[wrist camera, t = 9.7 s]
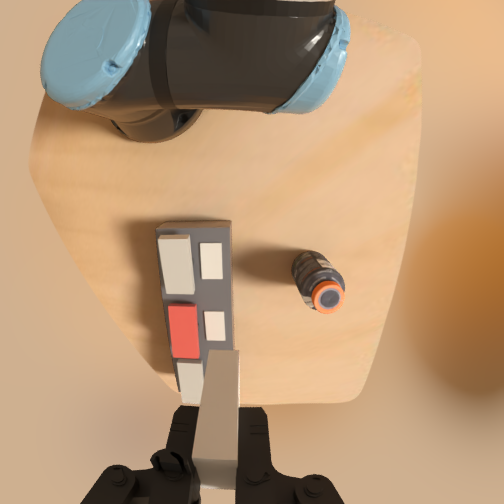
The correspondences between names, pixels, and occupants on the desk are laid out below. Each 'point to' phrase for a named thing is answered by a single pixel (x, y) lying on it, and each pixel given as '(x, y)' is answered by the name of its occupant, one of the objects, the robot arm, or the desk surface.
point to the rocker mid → (184, 330)
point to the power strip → (205, 284)
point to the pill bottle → (318, 282)
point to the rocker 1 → (177, 263)
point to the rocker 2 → (190, 380)
